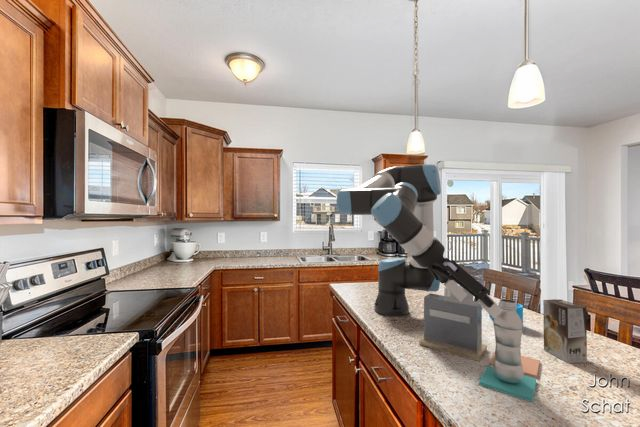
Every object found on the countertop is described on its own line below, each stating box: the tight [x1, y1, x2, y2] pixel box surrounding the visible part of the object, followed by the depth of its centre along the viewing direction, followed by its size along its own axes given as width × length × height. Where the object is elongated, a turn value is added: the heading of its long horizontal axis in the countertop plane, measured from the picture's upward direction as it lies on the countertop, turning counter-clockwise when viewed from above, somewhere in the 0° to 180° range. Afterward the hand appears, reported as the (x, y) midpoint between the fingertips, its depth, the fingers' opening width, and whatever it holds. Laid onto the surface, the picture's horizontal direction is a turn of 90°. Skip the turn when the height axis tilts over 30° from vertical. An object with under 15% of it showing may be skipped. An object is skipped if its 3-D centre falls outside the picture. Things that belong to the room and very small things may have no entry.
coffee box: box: [542, 298, 588, 364], centre depth 91 cm, size 9×6×16 cm
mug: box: [488, 301, 524, 323], centre depth 118 cm, size 12×8×8 cm
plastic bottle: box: [492, 298, 524, 384], centre depth 76 cm, size 6×7×20 cm
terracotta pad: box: [488, 351, 541, 380], centre depth 86 cm, size 11×11×1 cm
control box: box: [418, 293, 488, 362], centre depth 97 cm, size 18×10×16 cm, turn 51°
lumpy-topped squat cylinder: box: [443, 284, 474, 301], centre depth 148 cm, size 10×13×9 cm
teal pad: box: [478, 364, 537, 403], centre depth 76 cm, size 11×11×1 cm
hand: (479, 305), depth 76 cm, fingers open, 13 cm apart
